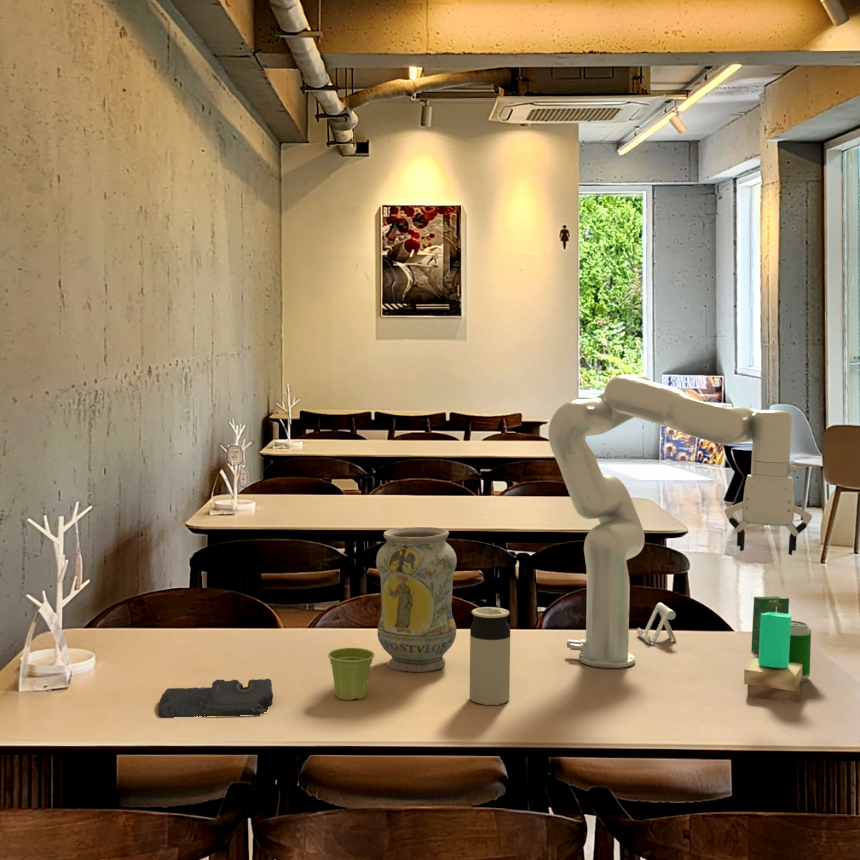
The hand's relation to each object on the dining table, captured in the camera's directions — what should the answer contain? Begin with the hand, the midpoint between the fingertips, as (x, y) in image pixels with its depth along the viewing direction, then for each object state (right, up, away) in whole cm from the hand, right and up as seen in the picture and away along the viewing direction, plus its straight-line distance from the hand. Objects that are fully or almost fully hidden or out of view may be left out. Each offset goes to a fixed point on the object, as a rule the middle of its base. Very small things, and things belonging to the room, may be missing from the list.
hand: (766, 551), depth 227 cm
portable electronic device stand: (-14, -26, +40) cm, 50 cm away
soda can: (+8, -29, +9) cm, 31 cm away
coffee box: (+10, -27, +30) cm, 42 cm away
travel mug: (-58, -29, -8) cm, 65 cm away
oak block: (+1, -26, -2) cm, 27 cm away
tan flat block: (+1, -29, -1) cm, 29 cm away
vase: (-73, -27, +17) cm, 80 cm away
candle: (+1, -23, -2) cm, 23 cm away
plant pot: (-86, -29, -6) cm, 90 cm away
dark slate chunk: (-111, -29, -12) cm, 116 cm away
